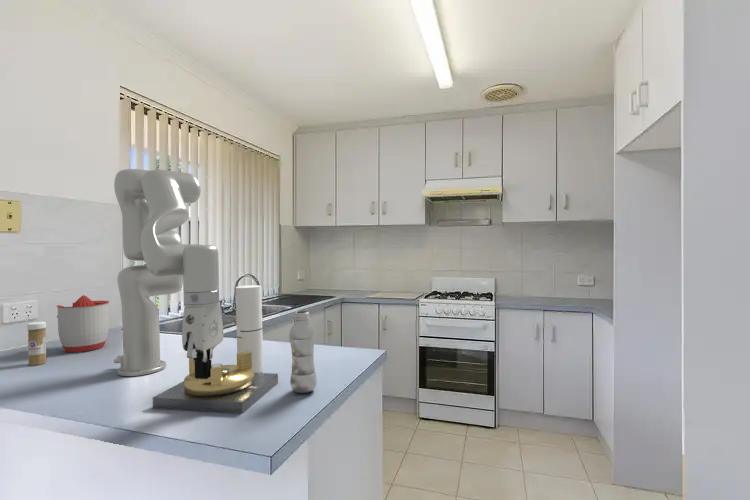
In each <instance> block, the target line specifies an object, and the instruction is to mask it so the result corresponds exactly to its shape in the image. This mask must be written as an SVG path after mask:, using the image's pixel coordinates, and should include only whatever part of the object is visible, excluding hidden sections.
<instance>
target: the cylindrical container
mask: <svg viewBox="0 0 750 500" xmlns="http://www.w3.org/2000/svg"><path fill="white" fill-rule="evenodd" d="M262 295H263V294H262V285H257V284H256V285H254V284H253V285H252V284H251V285H239V286H236V287H235V313H236V315H235V316H236V317H235V319H236V322H235V323H236V354H237V353H241V352H246V351H249V352H251V353H252V369H253V370H254V373H264V372H263V371H264V352H263V351H264V346H263V345H264V344H263V342H264V340H263V307H262V306H263V304H262V303H263V301H262V299H263V297H262Z"/></svg>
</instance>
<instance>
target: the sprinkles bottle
mask: <svg viewBox="0 0 750 500" xmlns="http://www.w3.org/2000/svg"><path fill="white" fill-rule="evenodd" d="M46 328H47V323H46V321H34V322H33V321H32V322H28V323H27V326H26V330H27V332H28V333H27V338H28V339H27V343H28V345H27V352H28V353H27V354H28V364H27V365H29V366H40V365H44V364H46V363H47V361H48V360H47V336H46Z"/></svg>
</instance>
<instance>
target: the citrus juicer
mask: <svg viewBox="0 0 750 500" xmlns="http://www.w3.org/2000/svg"><path fill="white" fill-rule="evenodd" d="M109 303H110V301H109V300H92V299H90V298H89V297H88V296H86V295H84V294H83V295H81V296H79V298H78V299H76V301H75V302H72V306H64V305H60V304H58V305H56V307H57V315H56V318H57V330H58V332H57V333H58V337H59V340H60V343H61V347H62V349H63V350H64V352H67V353H79V352H81V353H87V352H89V351H93V350H96V349H97V350H98V349H100V348H101V349H102V348H103V347H104V346H105V344H106V342H107V339H108V335H109V330H110V319H109V318H110V315H109V309H110V308H109Z"/></svg>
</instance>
